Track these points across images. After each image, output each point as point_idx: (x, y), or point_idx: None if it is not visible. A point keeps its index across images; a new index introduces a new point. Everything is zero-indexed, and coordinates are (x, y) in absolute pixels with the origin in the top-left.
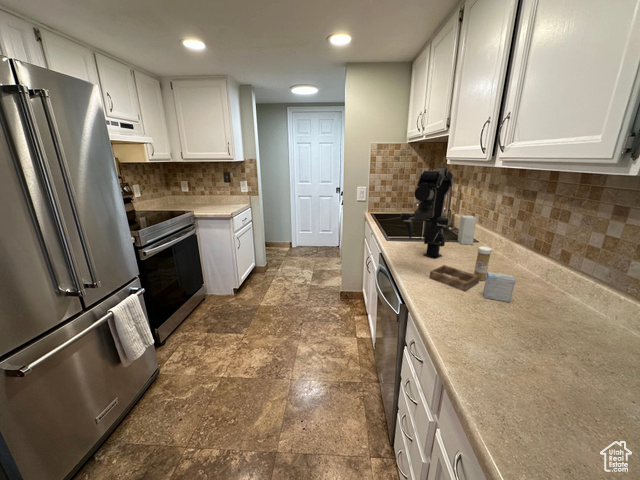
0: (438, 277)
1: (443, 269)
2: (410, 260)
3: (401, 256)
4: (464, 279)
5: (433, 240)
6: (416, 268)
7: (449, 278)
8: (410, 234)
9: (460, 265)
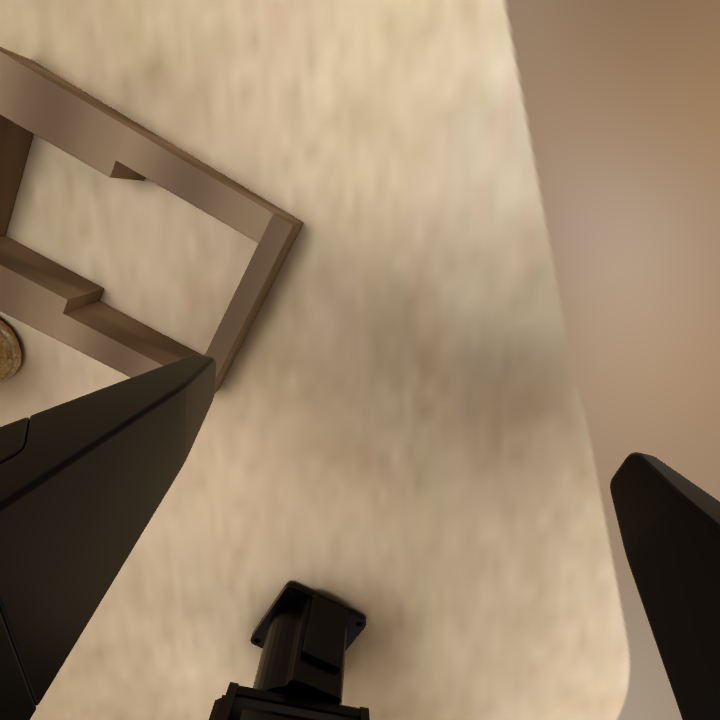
0: (227, 181)
1: None
2: (452, 508)
3: (518, 559)
4: (60, 270)
5: (184, 358)
6: (406, 378)
7: (125, 124)
8: (690, 495)
9: None
